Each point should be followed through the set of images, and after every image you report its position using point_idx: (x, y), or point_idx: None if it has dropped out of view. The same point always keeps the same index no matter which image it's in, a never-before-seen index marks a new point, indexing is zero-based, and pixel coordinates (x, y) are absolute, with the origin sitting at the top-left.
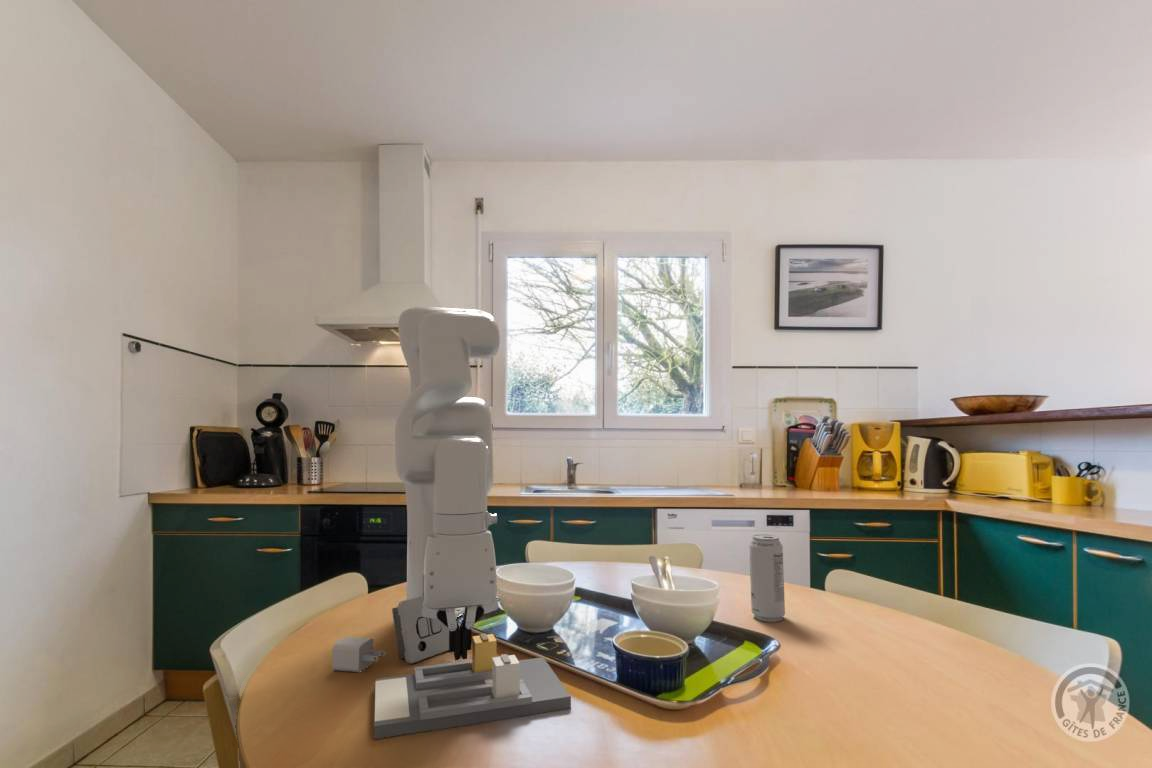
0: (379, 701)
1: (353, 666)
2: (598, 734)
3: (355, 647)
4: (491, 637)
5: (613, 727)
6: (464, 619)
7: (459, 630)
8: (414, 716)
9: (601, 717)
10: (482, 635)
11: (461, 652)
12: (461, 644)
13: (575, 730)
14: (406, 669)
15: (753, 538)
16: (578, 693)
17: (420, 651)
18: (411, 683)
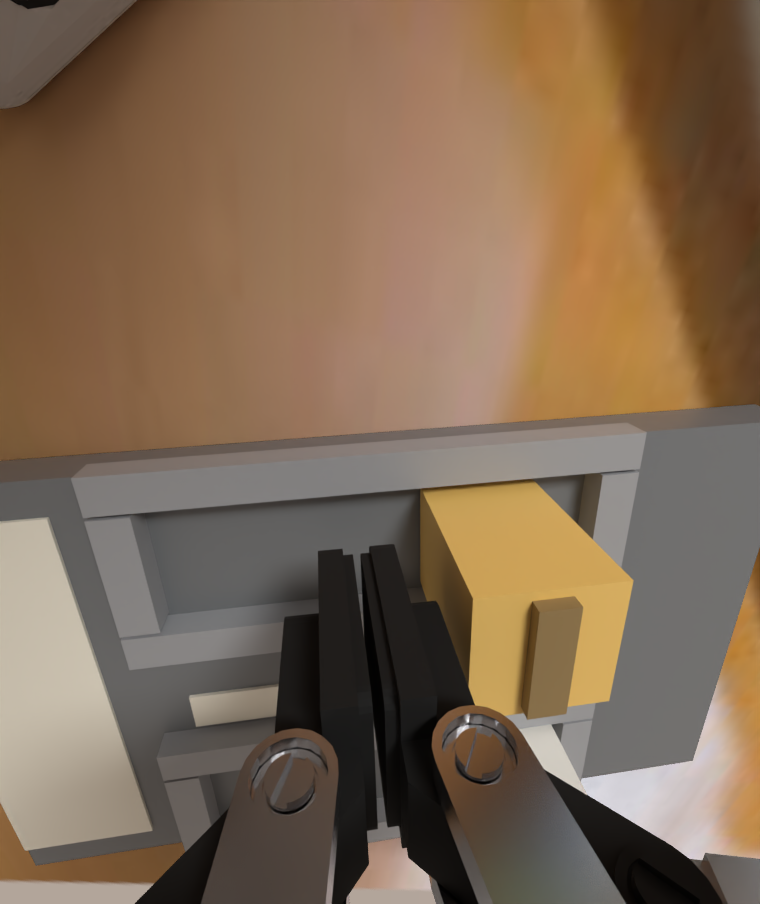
0: None
1: None
2: (658, 829)
3: None
4: (599, 643)
5: (706, 808)
6: (441, 829)
7: (369, 820)
8: (171, 827)
9: (710, 770)
10: (546, 647)
11: (367, 663)
12: (373, 706)
13: (619, 813)
14: (4, 191)
15: None
16: (738, 646)
17: (39, 12)
18: (99, 586)
